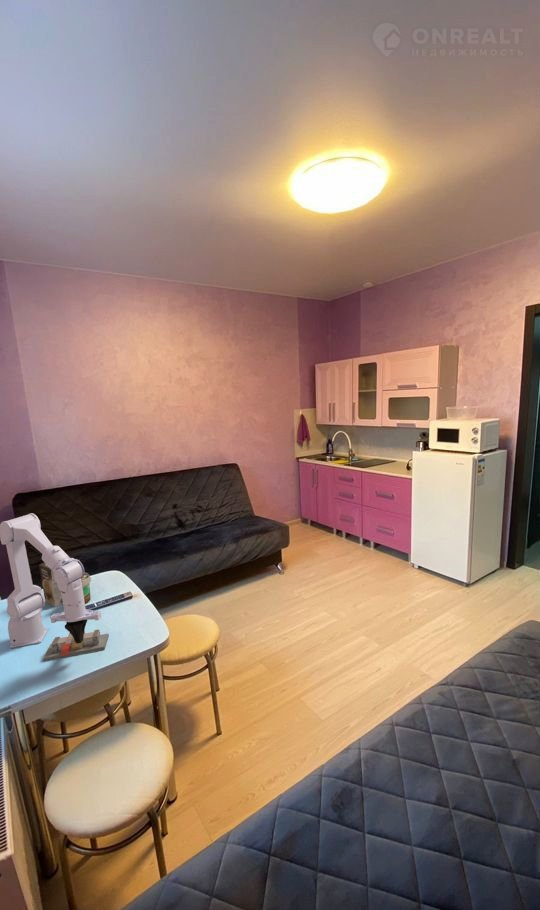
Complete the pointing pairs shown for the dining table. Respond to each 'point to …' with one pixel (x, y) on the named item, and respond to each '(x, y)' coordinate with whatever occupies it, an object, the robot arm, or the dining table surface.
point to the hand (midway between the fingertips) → (79, 641)
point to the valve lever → (67, 645)
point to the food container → (86, 587)
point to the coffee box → (50, 586)
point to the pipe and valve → (88, 640)
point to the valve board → (85, 649)
